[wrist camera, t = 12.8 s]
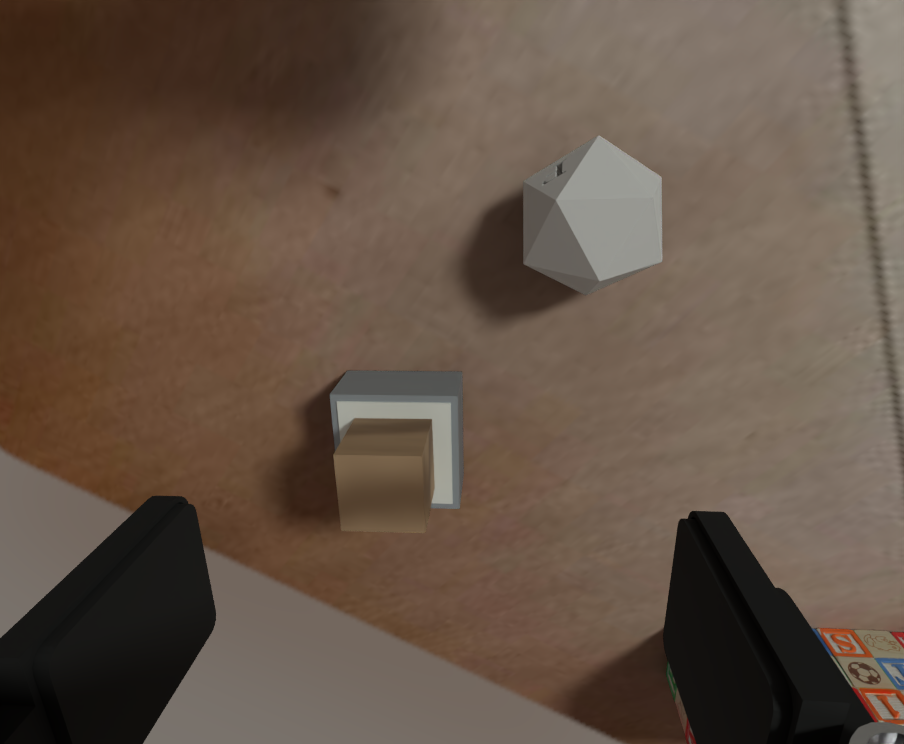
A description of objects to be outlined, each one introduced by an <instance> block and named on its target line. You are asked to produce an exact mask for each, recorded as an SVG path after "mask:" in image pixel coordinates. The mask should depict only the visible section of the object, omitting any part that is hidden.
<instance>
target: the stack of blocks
mask: <svg viewBox="0 0 904 744" xmlns="http://www.w3.org/2000/svg"><path fill="white" fill-rule="evenodd" d="M812 630H813V631H814V633H815V634H816V636H817V637H818V639H819V640H820V641H821V643H822V644H823V646H824V647H825V649H826V650H827V652H828V653H829V655H830V656H831V658H832V659H833V661H834V662H835V664H836V665H837V667H838V668H839V670H840V671H841V673H842V674H843V675H844V677H845V678H846V680H847V681H848V683H849V684H850V686H851V687H852V689H853V690H854V692H855V693H856V695H857V696H858V698H859V699H860V701H861V702H862V704H863V705H864V706H865V708H866V709H867V711H868V712H869V714H870V715H871V717H872V718H873V720H874V721H875V722H889V723H894V724H898V725H903V726H904V633H903V632H891V633H890V632H888V631H876V630H848V629H829V628H817V629H812ZM666 676H667V680H668V683H669V686H670V689H671V692H672V696H673V699H674V702H675V704H676V707H677V711H678V714H679V717H680V721H681V724H682V727H683V731H684V734H685V738H686V742H687V744H696V741H695V739H694V736H693V733H692V730H691V727H690V724H689V721H688V718H687V715H686V712H685V709H684V706H683V703H682V700H681V697H680V695H679V692H678V689H677V686H676V683H675V680H674V677H673V674H672V671H671V668H670V665H669V662H668V663H667V671H666Z"/></svg>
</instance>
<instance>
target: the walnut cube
mask: <svg viewBox="0 0 904 744" xmlns="http://www.w3.org/2000/svg"><path fill="white" fill-rule="evenodd" d="M333 458H334V467H335V477H336V486H337V496H338V505H339V515H340V524H341V531H366V532H403V533H426V528H427V524H428V519H429V514H430V509H431V504H432V499H433V494H434V489H435V481H434V455H433V430H432V419H391V418H354V420H353V422H352V423H351V425H350V427H349V429H348V430H347V432H346V434H345V435H344V437H343V439H342V441H341V442H340V444H339V446H338V447H337V449H336V451H335V453H334V454H333Z"/></svg>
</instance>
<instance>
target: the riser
mask: <svg viewBox="0 0 904 744" xmlns="http://www.w3.org/2000/svg"><path fill="white" fill-rule="evenodd" d="M330 404H331V414H332V424H333V435H334V445H335V451H336V449H337V447H338V446H339V444H340V442H341V441H342V439H343V437H344V435H345V434H346V432H347V430H348V429H349V427H350V425H351V423H352V422H353V420H354V418H391V419H432V430H433V455H434V481H435V489H434V494H433V499H432V504H431V508H446V509H460V501H461V493H462V484H463V476H464V467H463V386H462V372H437V371H347V372H346V373H345V375H344V376H343V377H342V379H341V380H340V381H339V383H338V384H337V385H336V387H335V388H334V389H333V391H332V392H331V393H330Z"/></svg>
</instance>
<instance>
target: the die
mask: <svg viewBox="0 0 904 744" xmlns="http://www.w3.org/2000/svg"><path fill="white" fill-rule="evenodd" d="M660 262H662V177H661V176H659V175H658V174H656V173H655V172H653V171H652V170H650V169H649V168H647V167H646V166H644V165H643V164H641V163H640V162H638V161H637V160H635V159H634V158H632V157H631V156H629V155H628V154H626V153H625V152H623V151H622V150H620V149H619V148H617V147H616V146H614V145H613V144H611V143H610V142H608V141H607V140H605V139H604V138H602V137H601V136H599V135H598V136H597V137H595V138H593V139H592V140H590V141H588V142H587V143H585V144H583V145H582V146H580V147H578V148H577V149H575V150H574V151H572V152H570V153H569V154H567V155H565V156H564V157H562V158H560V159H559V160H557V161H556V162H554V163H552V164H551V165H549V166H547V167H546V168H544V169H542V170H541V171H539V172H537V173H536V174H534V175H533V176H531V177H529V178H528V179H526V180H524V181H523V264H524V265H526V266H528V267H530V268H532V269H534V270H536V271H538V272H540V273H542V274H544V275H546V276H548V277H550V278H552V279H554V280H556V281H558V282H560V283H562V284H564V285H566V286H568V287H570V288H572V289H574V290H576V291H578V292H580V293H582V294H584V295H588V294H590V293H593V292H595V291H597V290H599V289H602V288H604V287H606V286H608V285H611V284H613V283H615V282H617V281H620V280H622V279H624V278H626V277H629V276H631V275H633V274H635V273H638V272H640V271H642V270H644V269H647V268H649V267H651V266H654V265H656V264H658V263H660Z"/></svg>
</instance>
